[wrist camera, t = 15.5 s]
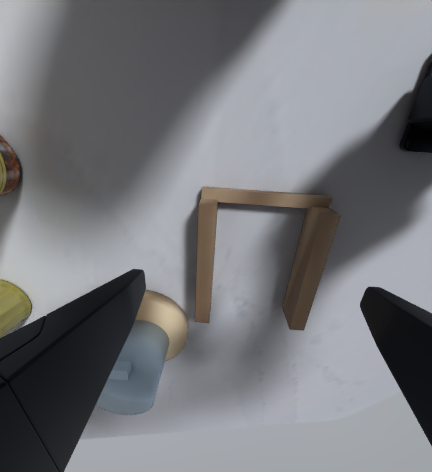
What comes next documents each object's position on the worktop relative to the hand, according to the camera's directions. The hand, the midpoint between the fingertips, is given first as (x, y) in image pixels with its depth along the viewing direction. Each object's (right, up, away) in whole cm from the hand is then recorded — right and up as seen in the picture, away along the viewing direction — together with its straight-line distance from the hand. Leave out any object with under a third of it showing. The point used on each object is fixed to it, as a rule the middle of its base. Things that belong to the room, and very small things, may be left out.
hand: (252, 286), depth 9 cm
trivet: (-10, -8, +17) cm, 21 cm away
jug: (-10, -10, +16) cm, 21 cm away
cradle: (+2, 0, +13) cm, 13 cm away
